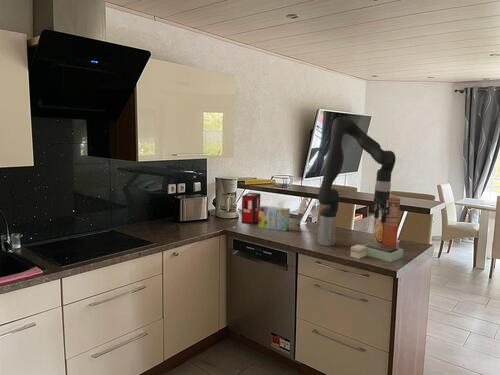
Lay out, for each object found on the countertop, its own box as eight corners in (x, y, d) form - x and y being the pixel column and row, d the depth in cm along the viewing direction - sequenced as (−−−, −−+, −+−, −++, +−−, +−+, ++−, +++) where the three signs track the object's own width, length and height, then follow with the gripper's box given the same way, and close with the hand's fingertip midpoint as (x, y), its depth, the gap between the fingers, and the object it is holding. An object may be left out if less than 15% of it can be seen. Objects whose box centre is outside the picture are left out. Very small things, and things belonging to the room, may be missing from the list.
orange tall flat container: (373, 238, 242) (376, 192, 238) (386, 239, 241) (389, 192, 237) (381, 249, 219) (385, 198, 215) (395, 250, 218) (400, 198, 214)
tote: (359, 254, 208) (360, 245, 207) (372, 250, 217) (372, 241, 216) (390, 263, 195) (391, 254, 194) (402, 258, 204) (403, 249, 203)
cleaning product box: (248, 218, 289) (249, 192, 286) (259, 219, 286) (260, 193, 284) (241, 223, 273) (242, 195, 271) (253, 224, 271) (254, 196, 268)
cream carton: (350, 257, 203) (350, 246, 202) (357, 255, 208) (358, 244, 207) (358, 260, 199) (359, 249, 198) (365, 257, 204) (366, 246, 203)
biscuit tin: (367, 254, 207) (367, 245, 206) (375, 250, 213) (376, 242, 212) (388, 259, 198) (389, 250, 197) (396, 256, 204) (397, 247, 203)
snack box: (289, 229, 258) (290, 208, 256) (286, 231, 253) (287, 209, 251) (261, 225, 268) (261, 204, 266) (257, 227, 263) (258, 206, 261)
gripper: (369, 187, 201) (367, 216, 204) (381, 191, 187) (378, 223, 190) (383, 187, 202) (380, 217, 205) (396, 192, 188) (392, 223, 191)
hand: (379, 220), depth 197 cm, fingers open, 8 cm apart
